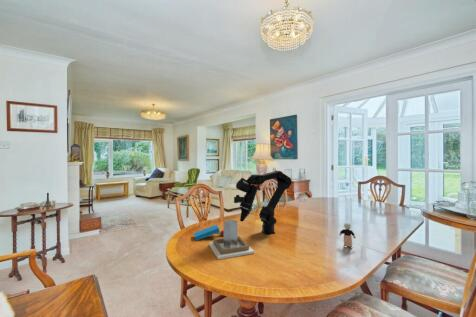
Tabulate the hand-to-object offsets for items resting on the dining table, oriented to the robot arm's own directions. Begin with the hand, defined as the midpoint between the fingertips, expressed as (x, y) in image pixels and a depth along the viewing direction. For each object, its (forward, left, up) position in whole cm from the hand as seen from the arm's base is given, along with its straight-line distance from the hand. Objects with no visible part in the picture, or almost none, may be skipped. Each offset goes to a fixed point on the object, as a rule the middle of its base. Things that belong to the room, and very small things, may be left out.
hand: (241, 221), depth 127 cm
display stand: (+10, +10, -11) cm, 17 cm away
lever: (+15, -11, -11) cm, 22 cm away
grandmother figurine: (-48, +29, -11) cm, 57 cm away
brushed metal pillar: (+10, +10, -9) cm, 17 cm away
